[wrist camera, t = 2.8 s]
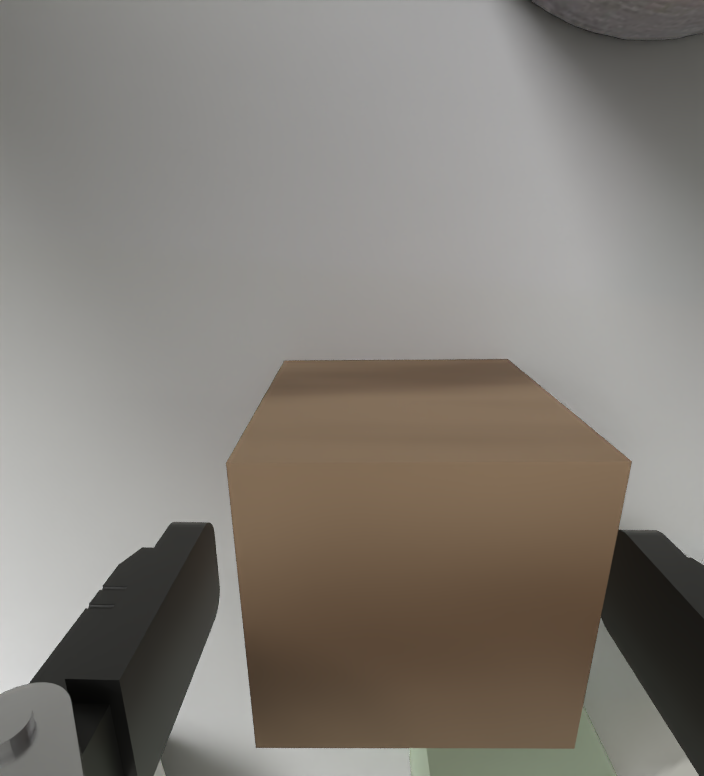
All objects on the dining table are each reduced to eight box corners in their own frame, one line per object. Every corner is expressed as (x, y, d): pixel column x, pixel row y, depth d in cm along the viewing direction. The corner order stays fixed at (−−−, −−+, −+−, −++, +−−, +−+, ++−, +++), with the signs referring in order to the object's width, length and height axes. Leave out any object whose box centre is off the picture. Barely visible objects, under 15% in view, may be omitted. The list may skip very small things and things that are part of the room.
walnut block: (284, 359, 12) (225, 463, 6) (506, 358, 12) (631, 461, 6) (295, 545, 13) (255, 747, 8) (488, 545, 13) (574, 748, 8)
